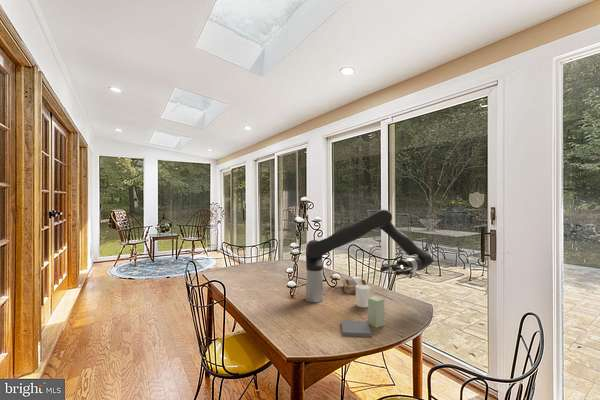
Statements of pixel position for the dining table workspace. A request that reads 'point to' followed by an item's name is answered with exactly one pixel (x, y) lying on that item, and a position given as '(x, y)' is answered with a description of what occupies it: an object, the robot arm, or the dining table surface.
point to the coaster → (356, 328)
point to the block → (376, 311)
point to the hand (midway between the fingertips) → (388, 271)
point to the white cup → (362, 295)
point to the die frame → (351, 289)
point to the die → (355, 281)
